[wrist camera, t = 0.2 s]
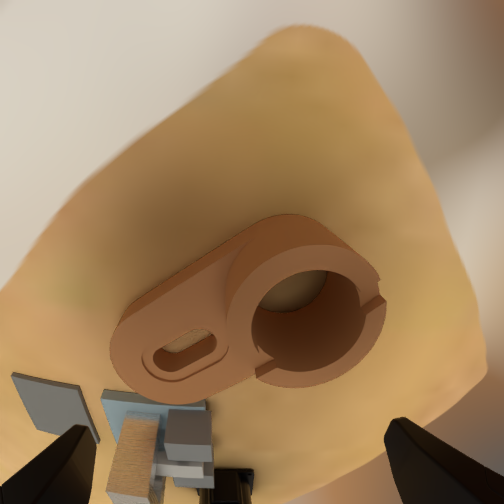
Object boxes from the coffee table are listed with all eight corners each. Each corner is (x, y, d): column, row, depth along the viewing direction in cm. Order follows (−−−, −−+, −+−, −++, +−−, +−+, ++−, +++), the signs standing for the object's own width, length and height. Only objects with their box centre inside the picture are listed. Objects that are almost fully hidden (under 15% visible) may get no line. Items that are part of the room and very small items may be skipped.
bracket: (307, 190, 20) (347, 210, 14) (359, 287, 23) (403, 335, 16) (99, 324, 22) (66, 380, 15) (166, 394, 24) (156, 457, 18)
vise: (213, 450, 27) (214, 493, 22) (122, 443, 26) (112, 483, 21) (211, 397, 24) (210, 446, 19) (104, 389, 24) (87, 433, 18)
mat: (100, 439, 26) (98, 443, 25) (38, 426, 25) (37, 429, 24) (79, 385, 23) (77, 390, 23) (13, 372, 22) (10, 375, 22)
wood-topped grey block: (168, 451, 25) (161, 525, 17) (138, 448, 25) (125, 520, 17) (160, 413, 23) (147, 497, 15) (126, 410, 23) (105, 491, 15)
